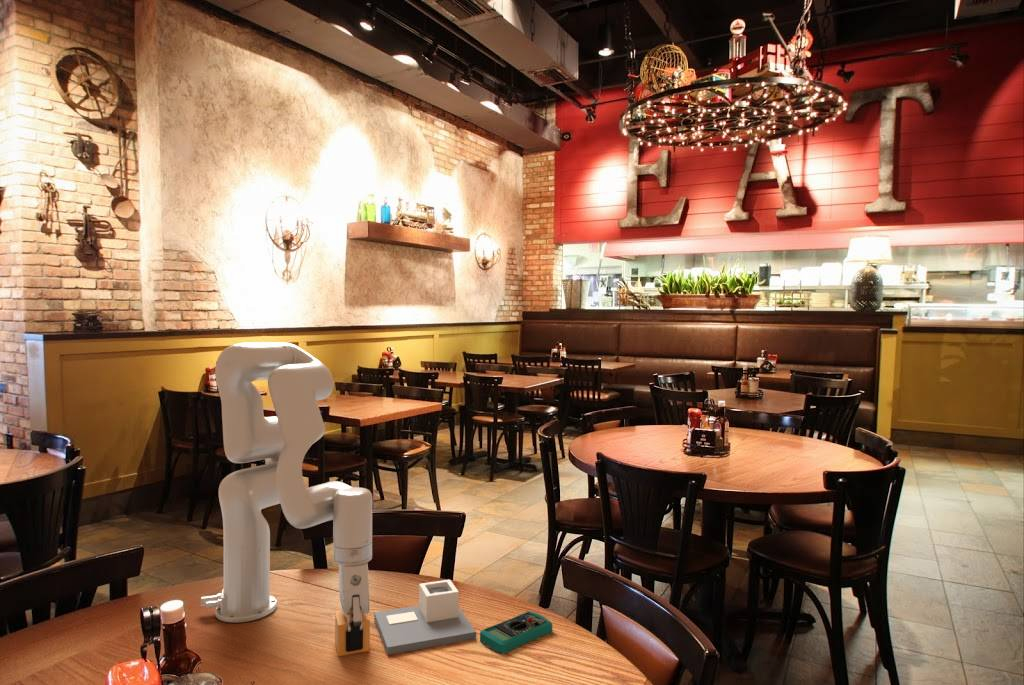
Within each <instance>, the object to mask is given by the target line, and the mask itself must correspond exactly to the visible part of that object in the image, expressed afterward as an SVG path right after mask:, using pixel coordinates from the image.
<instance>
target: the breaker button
mask: <svg viewBox="0 0 1024 685" xmlns="http://www.w3.org/2000/svg"><path fill="white" fill-rule="evenodd" d="M446 591H449V590H448V589H446V588H433V589H431V590H429V593H430V594H433V593H439V592H446Z"/></svg>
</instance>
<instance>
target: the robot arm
mask: <svg viewBox="0 0 1024 685" xmlns="http://www.w3.org/2000/svg"><path fill="white" fill-rule="evenodd" d="M214 367H215V368H214V369H215V370H214V372H215V374H214V375H215V382H216V386H217V389H218V393H219V397H220V401H221V402H220V403H221V419H222V420H221V421H222V437H223V438H222V439H223V449H224V453H225V456H226V458H227V460H228V461H230V462H231V463H234V464H245V463H246V464H247V463H252V462H256V461H262V460H264V462H265V463H264V464H261V465H257V466H252V467H247V468H241V469H239V470H236V471H233V472H231V473H229V474H227V475H226V476H225V477H224V478H223V479H222V480H221V481H220V483H219V487H218V499H219V500H218V501H219V505H220V511H221V515H222V527H223V531H222V532H223V538H222V539H223V540H222V541H223V573H222V575H223V580H222V581H223V588H222V590H221V592H217V593H216V595H203V596H201V597H200V607H203V606H205V609H206V610H207V609H212V608H215V617H216V618H217V619H218V620H220V621H221V622H226V623H247V622H250V621H251V622H252V621H255V620H259V619H261V618H264V617H267V616H268V615H270V614H272V613H273V612H274V611H275V610H276V609H277V606H278V601H277V599H276V597H275V596H273V595H271V592H270V588H271V586H270V585H271V576H270V574H271V573H270V572H271V570H270V569H271V568H270V567H271V530H270V525H269V523H268V521H267V519H266V518H265V517H264V515H263V513H262V510H263V509H266V508H269V507H272V506H276V505H279V504H280V506H281V510H282V514H283V515H284V518H285V519H286V521H287V522H288V523H289V525H291V526H292V527H294V528H295V529H308V528H312V527H315V526H317V525H320V524H322V523H326V522H330V521H333V522H332V524H333V525H332V526H333V527H332V529H333V530H332V541H333V542H332V561H333V563H334V564H335V565H338V592H339V600H340V601H339V602H340V605H341V611H343V613H344V615H345V616H346V617H347V630H346V651H347V652H350V651H356V650H361V649H363V628H362V610H363V612H364V613H366V614H368V615H369V613H370V610H371V609H370V584H369V583H370V579H369V567H368V566H369V565H368V563H369V562H370V561H372V559H373V493H372V492H371V490H370V489H368V488H365V487H359V486H358V487H357V486H351V485H349V484H347V483H345V482H342V481H338V480H332V481H327V482H325V483H321V484H316V485H313V486H310V487H306V485H305V484H306V483H305V481H304V477H303V476H304V475H303V462H304V459H305V456H306V454H307V453H308V450H309V449H310V448H311V446H312V445H313V444H315V443H316V442H317V441H319V440H321V438H322V437H324V435H325V433H326V426H325V424H324V420H323V416H322V413H321V410H320V407H319V404H318V401H323V400H326V399H329V397H330V396H331V394H332V393H333V390H334V387H335V386H334V385H335V382H334V377H333V374H332V373H331V371H330V369H329V368H328V366H326V365H325V364H324V363H323V362H322V361H320V360H319V359H318V358H316V357H314V356H313V355H312V354H310V353H309V352H307V351H306V350H304V349H303V348H301V347H299V345H296V344H293V343H290V342H283V341H281V342H280V341H279V342H278V341H275V342H274V341H272V342H271V341H268V342H267V341H265V342H264V341H249V342H239V343H234V344H231V345H229V346H228V347H226V348H224V349H222V351H221V352H220V354H218V357H217V360H216V363H215V366H214ZM256 381H267V387H268V392H269V394H270V398H271V401H272V405H273V409H274V411H275V414H276V416H275V415H273V416H266V417H265V415H264V401H263V397H262V395H261V393H260V391H259V389H258V388H257V386H256V385H254V384H253V382H256ZM349 611H353V614H349ZM351 617H353V621H350V618H351Z"/></svg>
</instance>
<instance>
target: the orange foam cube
mask: <svg viewBox="0 0 1024 685" xmlns="http://www.w3.org/2000/svg"><path fill="white" fill-rule="evenodd" d="M349 614H353V611H349ZM350 621H353V617H351V618H350ZM370 621H371V620H370V616H369V613H368V614H366V613H364V612H363V610H362V628H363V649H361V650H356V651H350V652H347V651H346V630H347V617H346V616H345V615H344V613H343V610H340V611H339V610H338V611H335V612H334V631H335V632H334V643H335V648H336V653H337V656H338V657H340V656H346V655H353V654H358V653H359V654H360V653H363V652H364V653H365V652H368V651H370V650H371V648H370V644H371V643H370V642H371V641H370V640H371V639H370V638H371V634H370V633H371V628H370V627H371V622H370Z"/></svg>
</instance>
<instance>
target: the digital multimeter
mask: <svg viewBox="0 0 1024 685" xmlns="http://www.w3.org/2000/svg"><path fill="white" fill-rule="evenodd" d="M552 633H553V622H552V621H550V620H549V619H548V618H546V617H545V616H543V615H541V614H539V613H536V612H534V611H530V610H529V611H526V612H524V613H521V614H519V615H517V616H515V617H512V618H510V619H507V620H505V621H502V622H498V623H496V624H494V625H491V626H488V627H486V628H484V629H482V630H481V631H479V642H481V643H482V644H484V645H485V646H486V647H488V648H490V649H491V650H493V651H495V652H496V653H499V654H501V655H504V654H506V653H507V654H508V653H510V652H511V651H512V650H515V649H516V648H519V647H521V646H523V645H526V644H528V643H530V642H532V641H534V640H537V639H539V638H542V637H544V636H547V635H549V634H552Z"/></svg>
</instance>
